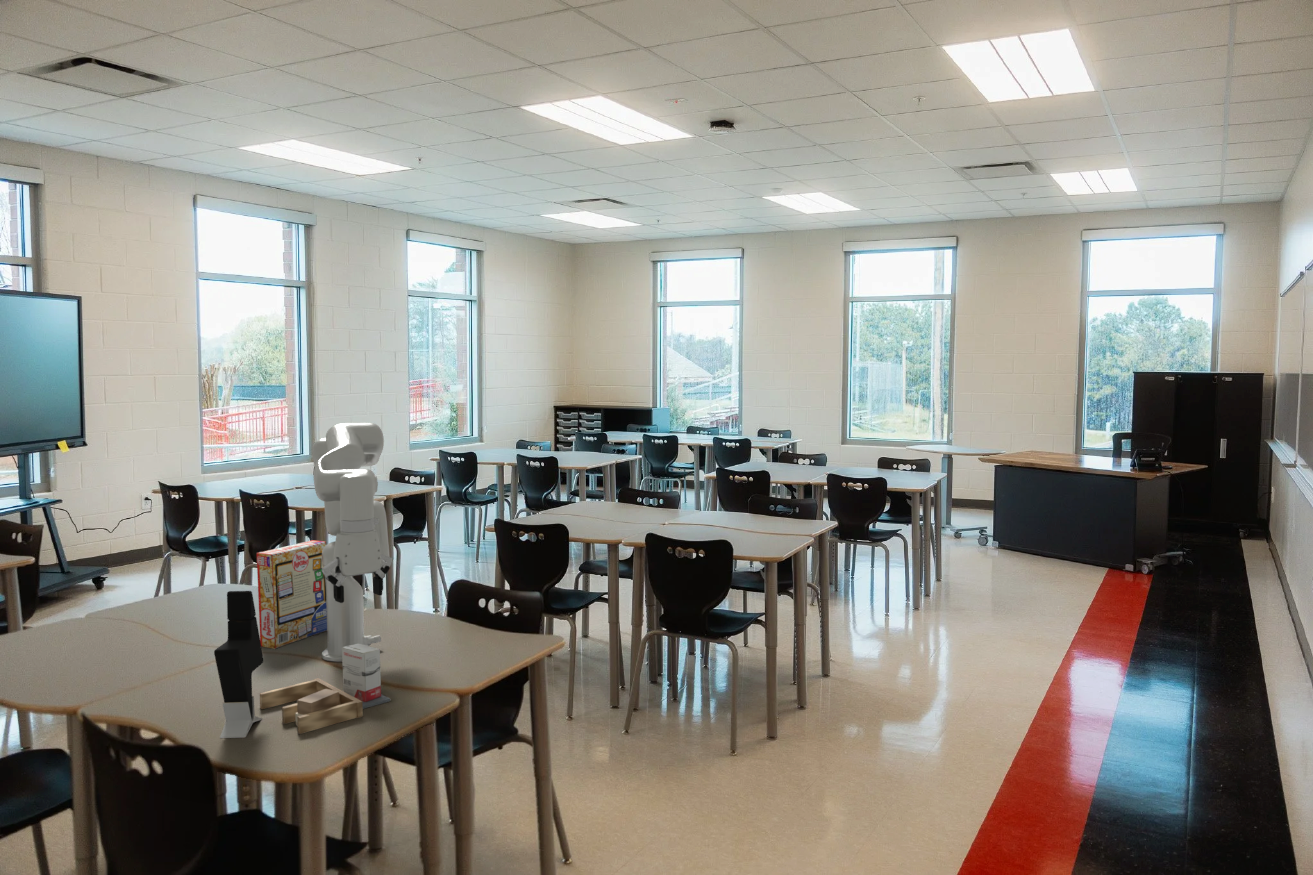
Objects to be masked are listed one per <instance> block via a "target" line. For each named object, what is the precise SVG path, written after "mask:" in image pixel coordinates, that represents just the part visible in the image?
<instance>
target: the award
mask: <svg viewBox="0 0 1313 875" xmlns="http://www.w3.org/2000/svg"><path fill="white" fill-rule="evenodd" d="M226 604H227V605H226V608H227V609H226V610H227V611H226V613H227V614H226V616H227V618H226V619H227V640H226V641H225V642H224V643H222V644H221V645H220V646H218V647H217V648H215V649H214V652H213V653H214V654H213V655H214V658H215V663H216V670H217V674H218V678H219V683H220V688H221V692H222V697H223V698H222V699H223V702H221V703H222V704H221V705H222V708H223V713H224V717H225V722H224V725H223V728H222V730H221V733H220V735H219V739H230V738H231V739H235V738H236V739H237V738H241V739H242V738H246V737H247V736H248V733H249V731H250V729H251V727H252V725H253V724H254V723H255V722H259V721H262V720H263V718H262V717H259V716H256V714H255V696H253V684H252V683H253V682H252V680H253V679H252V677H253V676H252V675H253V672H254V671H255V670H257V669H258V668H259V667H260V666H261V665H263V663H264V656H263V650H262V646H261V643H260V630H259V626H258V621H257V620H258V618H257V617H256V616H257V614H256V607H255V600H254V596H253V591H251V590H229V591H227V592H226Z"/></svg>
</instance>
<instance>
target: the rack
mask: <svg viewBox="0 0 1313 875" xmlns="http://www.w3.org/2000/svg"><path fill="white" fill-rule="evenodd" d="M323 689H329V690H334V691H338V692H339V705H338V706H334V707H330V708H327V709H323V710H319V711H316V712H312V713H309V714H305V715H301V716H298V717H297V723H298V726H297V734H300V735H301V734H304V733H308V732H311V731H316V730H319V729H323V728H326V727H330V726H332V725H336V724H340V723H342V722H347V721H350V720H353V719H359V718H363V716H364V714H363V713H364V712H363V705H362V701H361V700H359V699H357V698H355V697H353V696H351V695H349V694H347V693H345V692H344V691H343V689H342V690H341V689H339V688H337V687H336V686H334V685H332V684H330V683H328V682H327V681H325V680H323V679H321V678H319V677H317V678H314V679H311V680H308V681H303V682H299V683H296V684H292V685H287V686H283V687H280V688H275V689H271V690H267V691H263V692H259V709H261V710H264V709H269V708H272V707H277V706H281V705H285V704H288V705H285V706H282V707H281V718H282V719H281V720H282V721H281V722H282V723H283V724H284V725H286V724H290V723H292V722H296V721H295V713H297V712H298V711H297V700H298V699H301V698H303V697H306V696H308V695H311V694H313V693H316V692H318V691H321V690H323ZM291 702H296V703H292V704H289V703H291Z"/></svg>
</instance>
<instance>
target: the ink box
mask: <svg viewBox="0 0 1313 875" xmlns="http://www.w3.org/2000/svg"><path fill="white" fill-rule="evenodd" d="M341 664H342V691H344V692H345V693H347V694H349V695H351V696H353V697H355V698H357V699H359V700H361V701H363V702H367V701H370V700H373V699H375V698H378V697H381V694H382V686H381V684H382V680H381V679H382V678H381V649H380V648H378V647H373V646H371V645H369V646H366V645H362V644H354V645H350V646H345V647H343V648H342V663H341Z"/></svg>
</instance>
